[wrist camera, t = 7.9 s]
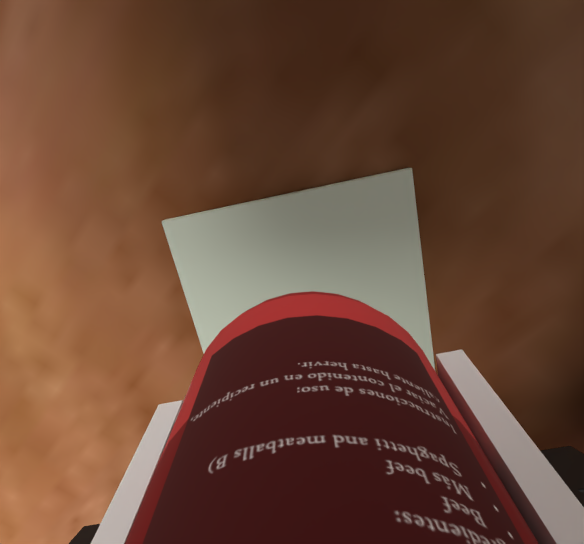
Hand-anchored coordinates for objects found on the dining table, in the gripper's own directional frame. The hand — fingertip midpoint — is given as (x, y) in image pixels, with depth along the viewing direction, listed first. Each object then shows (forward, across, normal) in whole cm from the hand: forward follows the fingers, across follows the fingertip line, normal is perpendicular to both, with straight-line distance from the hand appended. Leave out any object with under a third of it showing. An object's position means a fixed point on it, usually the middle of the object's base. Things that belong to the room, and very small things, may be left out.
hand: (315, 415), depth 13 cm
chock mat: (+8, 0, 0) cm, 8 cm away
